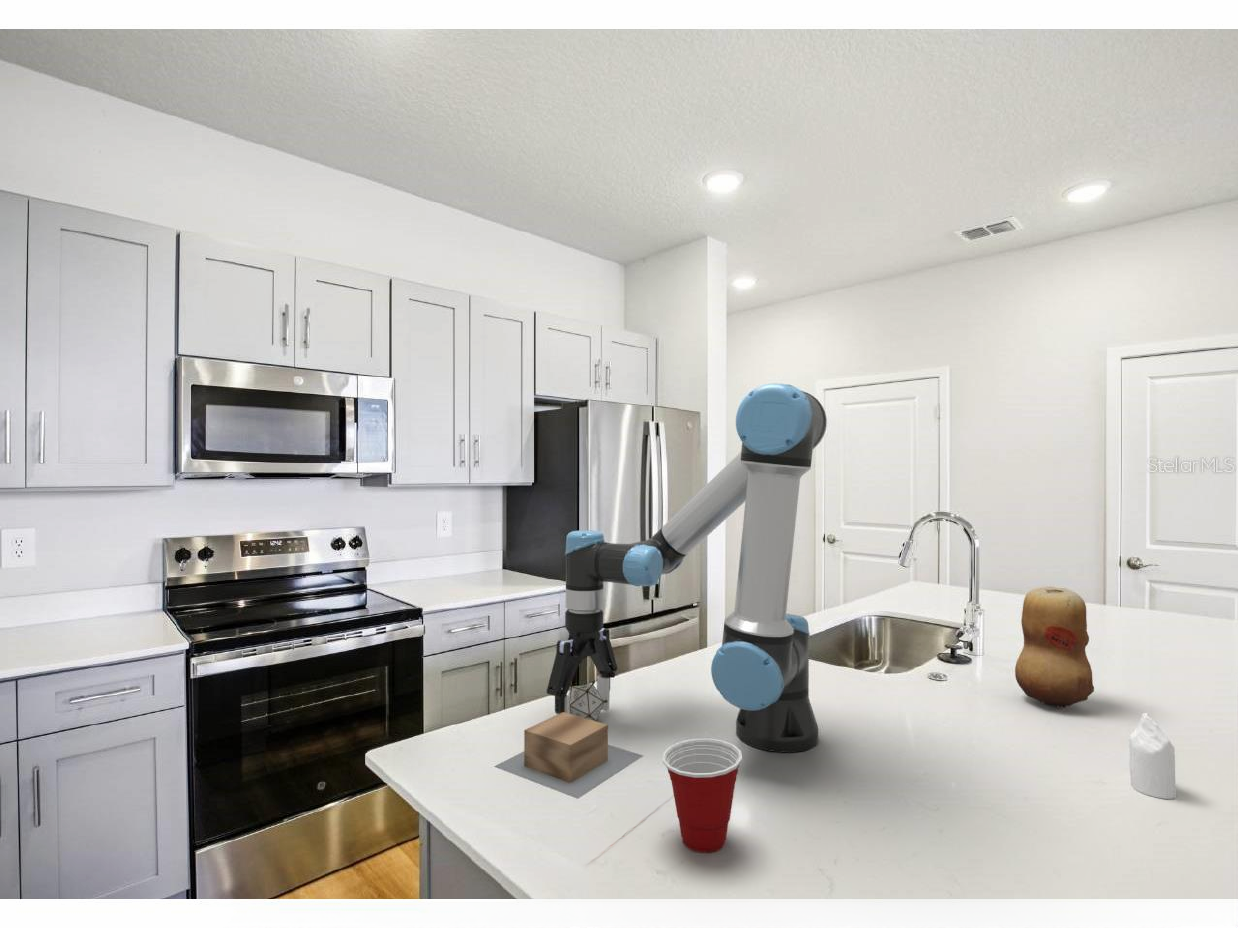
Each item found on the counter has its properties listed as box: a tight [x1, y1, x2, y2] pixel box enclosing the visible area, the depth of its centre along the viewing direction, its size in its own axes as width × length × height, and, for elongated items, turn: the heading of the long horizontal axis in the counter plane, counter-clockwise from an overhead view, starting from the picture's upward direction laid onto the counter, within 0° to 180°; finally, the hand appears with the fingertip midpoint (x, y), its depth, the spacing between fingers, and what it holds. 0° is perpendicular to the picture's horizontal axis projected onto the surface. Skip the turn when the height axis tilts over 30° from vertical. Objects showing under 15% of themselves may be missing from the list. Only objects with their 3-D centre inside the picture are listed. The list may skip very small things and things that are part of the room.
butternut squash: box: [1014, 586, 1095, 709], centre depth 139 cm, size 14×13×25 cm
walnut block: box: [523, 712, 609, 783], centre depth 110 cm, size 10×10×6 cm
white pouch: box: [1128, 712, 1177, 800], centre depth 103 cm, size 6×12×6 cm
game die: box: [567, 680, 608, 722], centre depth 128 cm, size 9×8×10 cm
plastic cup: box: [661, 737, 743, 854], centre depth 88 cm, size 11×11×12 cm
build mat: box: [494, 744, 644, 799], centre depth 111 cm, size 18×18×1 cm
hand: (583, 718), depth 128 cm, fingers open, 12 cm apart
